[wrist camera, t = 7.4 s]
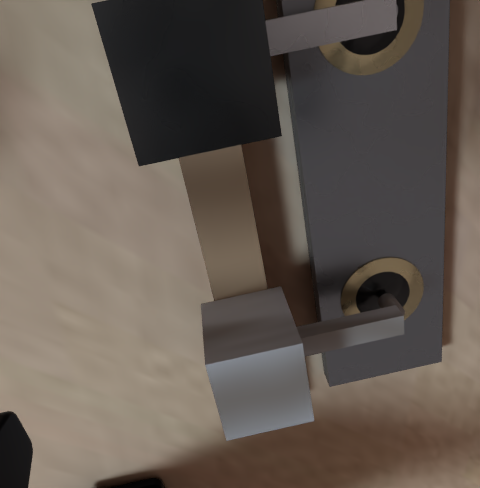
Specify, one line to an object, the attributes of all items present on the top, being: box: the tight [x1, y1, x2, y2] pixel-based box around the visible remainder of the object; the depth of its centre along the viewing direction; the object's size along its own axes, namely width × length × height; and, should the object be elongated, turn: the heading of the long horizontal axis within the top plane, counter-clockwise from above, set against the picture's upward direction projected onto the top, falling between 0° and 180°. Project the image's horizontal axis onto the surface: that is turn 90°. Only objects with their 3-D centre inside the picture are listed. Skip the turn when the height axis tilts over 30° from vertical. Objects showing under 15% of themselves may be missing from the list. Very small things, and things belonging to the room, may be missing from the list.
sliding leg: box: [92, 0, 398, 166], centre depth 12 cm, size 4×9×8 cm, turn 100°
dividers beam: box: [179, 145, 405, 441], centre depth 17 cm, size 25×9×6 cm, turn 10°
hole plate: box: [276, 0, 450, 387], centre depth 19 cm, size 22×6×1 cm, turn 10°
